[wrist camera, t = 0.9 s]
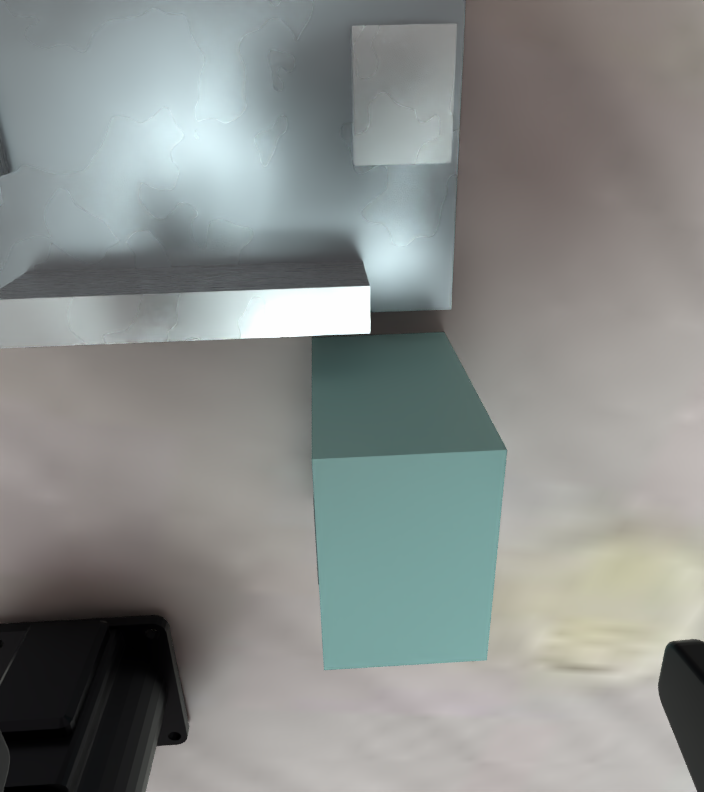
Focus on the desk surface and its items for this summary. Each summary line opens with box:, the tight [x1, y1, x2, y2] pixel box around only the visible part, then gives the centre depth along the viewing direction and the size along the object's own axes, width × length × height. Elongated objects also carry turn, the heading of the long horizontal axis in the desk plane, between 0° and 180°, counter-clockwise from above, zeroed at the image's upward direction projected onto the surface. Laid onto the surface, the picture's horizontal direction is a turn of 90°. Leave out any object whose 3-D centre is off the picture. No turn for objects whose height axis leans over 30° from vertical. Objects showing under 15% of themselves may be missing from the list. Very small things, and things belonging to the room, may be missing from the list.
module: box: [312, 332, 507, 670], centre depth 17 cm, size 6×4×7 cm
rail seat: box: [0, 0, 466, 348], centre depth 15 cm, size 11×14×3 cm
